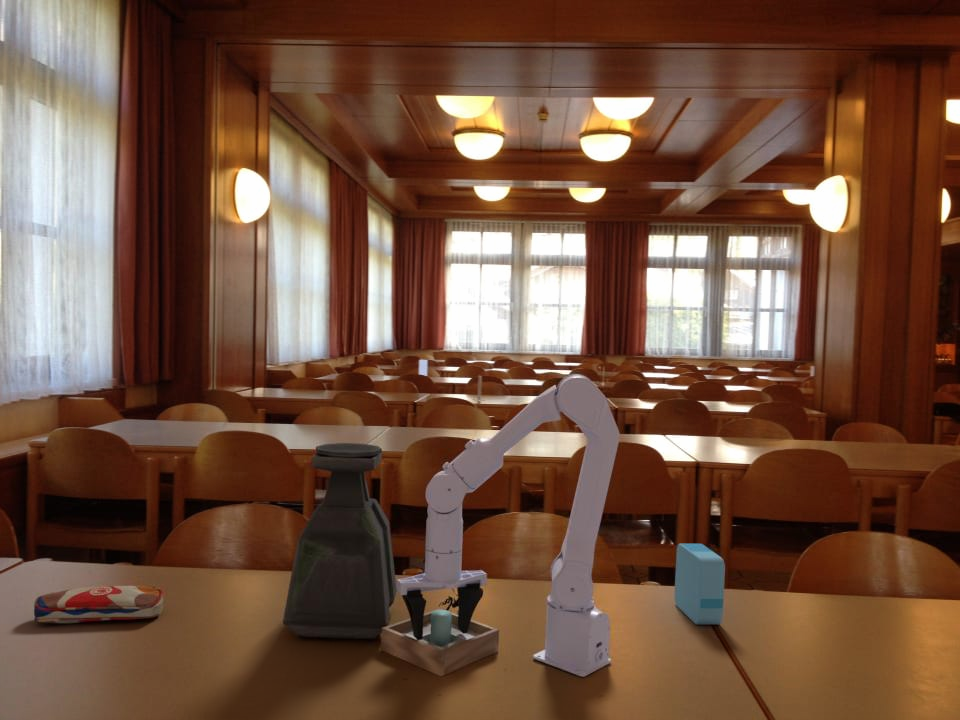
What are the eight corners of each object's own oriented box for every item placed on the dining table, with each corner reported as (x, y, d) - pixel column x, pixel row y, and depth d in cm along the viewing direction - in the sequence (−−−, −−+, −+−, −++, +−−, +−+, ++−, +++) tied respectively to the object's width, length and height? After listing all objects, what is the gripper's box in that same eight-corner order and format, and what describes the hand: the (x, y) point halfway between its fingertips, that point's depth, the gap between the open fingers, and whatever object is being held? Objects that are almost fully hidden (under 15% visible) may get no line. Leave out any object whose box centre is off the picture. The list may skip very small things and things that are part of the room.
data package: (722, 627, 140) (726, 559, 139) (697, 627, 139) (701, 559, 139) (696, 603, 151) (699, 541, 151) (673, 603, 151) (676, 541, 150)
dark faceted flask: (385, 647, 125) (392, 458, 124) (281, 643, 125) (286, 454, 124) (396, 607, 143) (402, 442, 142) (305, 604, 143) (310, 438, 142)
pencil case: (142, 634, 127) (143, 604, 127) (21, 629, 127) (21, 598, 127) (170, 610, 138) (171, 582, 138) (58, 605, 138) (59, 576, 138)
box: (498, 651, 125) (499, 629, 125) (440, 676, 115) (441, 652, 115) (439, 628, 134) (439, 608, 133) (381, 650, 124) (381, 627, 124)
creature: (426, 621, 140) (460, 623, 135) (422, 590, 140) (456, 591, 136) (454, 610, 146) (488, 611, 141) (451, 580, 147) (484, 580, 142)
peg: (452, 654, 123) (454, 616, 123) (433, 656, 122) (434, 618, 122) (446, 646, 126) (448, 609, 126) (427, 648, 125) (428, 610, 125)
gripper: (409, 559, 117) (405, 650, 118) (496, 551, 123) (493, 637, 124) (393, 547, 123) (390, 633, 124) (477, 539, 130) (474, 621, 130)
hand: (440, 634), depth 124 cm, fingers open, 7 cm apart
